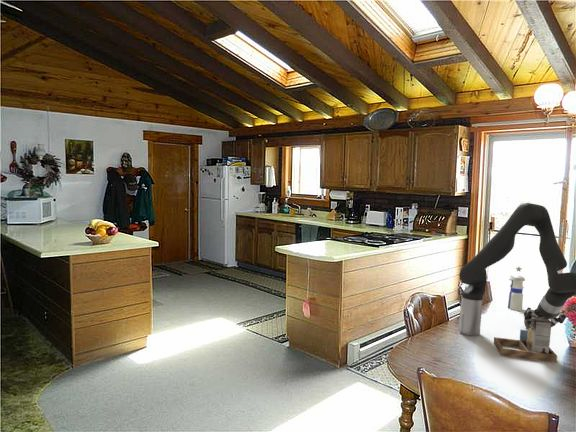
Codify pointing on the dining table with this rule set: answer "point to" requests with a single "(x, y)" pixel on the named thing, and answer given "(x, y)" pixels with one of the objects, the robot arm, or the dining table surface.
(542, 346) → the coffee box
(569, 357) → the dining table surface
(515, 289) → the white blue toy tower
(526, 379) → the dining table surface
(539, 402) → the dining table surface
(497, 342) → the organiser
